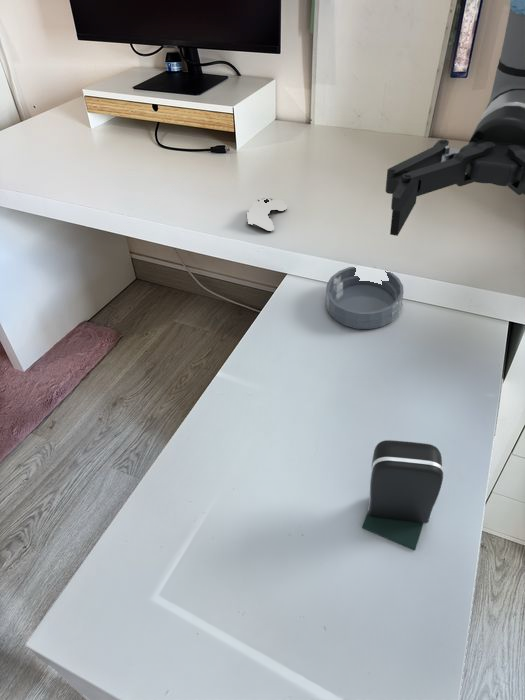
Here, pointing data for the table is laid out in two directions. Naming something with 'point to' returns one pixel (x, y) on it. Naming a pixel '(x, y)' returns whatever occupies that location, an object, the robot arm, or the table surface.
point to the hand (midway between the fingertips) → (467, 236)
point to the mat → (394, 530)
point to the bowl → (363, 300)
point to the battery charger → (405, 480)
